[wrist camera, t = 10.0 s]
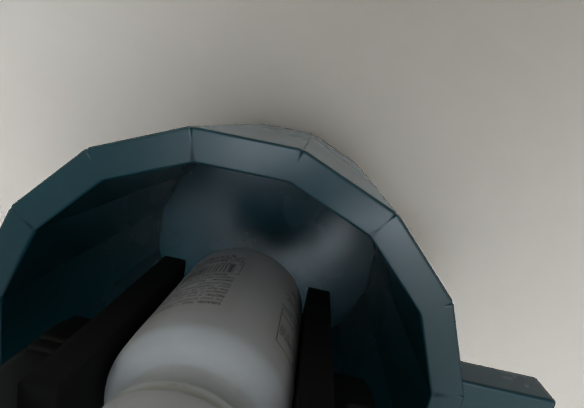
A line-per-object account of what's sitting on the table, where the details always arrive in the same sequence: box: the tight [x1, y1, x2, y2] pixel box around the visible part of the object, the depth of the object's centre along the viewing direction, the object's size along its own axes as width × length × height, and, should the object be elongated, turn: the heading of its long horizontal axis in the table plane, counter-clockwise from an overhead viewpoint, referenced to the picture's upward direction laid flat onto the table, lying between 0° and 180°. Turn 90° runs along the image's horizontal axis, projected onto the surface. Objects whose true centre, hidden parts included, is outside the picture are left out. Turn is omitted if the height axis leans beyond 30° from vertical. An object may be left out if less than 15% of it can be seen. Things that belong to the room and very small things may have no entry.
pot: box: [0, 124, 555, 408], centre depth 15 cm, size 13×18×10 cm
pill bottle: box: [102, 248, 302, 408], centre depth 10 cm, size 4×4×8 cm
